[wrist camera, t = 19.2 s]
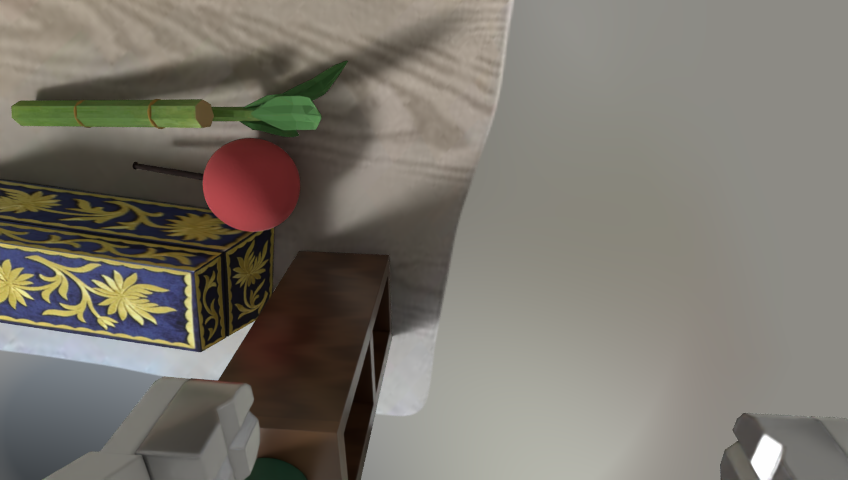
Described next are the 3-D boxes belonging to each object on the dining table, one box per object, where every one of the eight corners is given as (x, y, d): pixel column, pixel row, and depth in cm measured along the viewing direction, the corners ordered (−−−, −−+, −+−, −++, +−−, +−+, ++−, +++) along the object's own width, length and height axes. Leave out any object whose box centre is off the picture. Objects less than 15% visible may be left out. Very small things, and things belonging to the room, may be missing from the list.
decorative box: (-33, 174, 50) (-129, 212, 42) (274, 218, 49) (236, 265, 41) (-3, 269, 55) (-84, 320, 47) (276, 310, 54) (242, 368, 46)
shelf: (389, 254, 50) (336, 433, 31) (392, 337, 55) (347, 538, 35) (298, 250, 51) (190, 423, 31) (308, 332, 56) (220, 527, 36)
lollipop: (86, 155, 40) (266, 182, 38) (145, 106, 46) (306, 127, 43) (124, 228, 45) (284, 255, 43) (173, 176, 51) (318, 199, 49)
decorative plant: (-12, 68, 43) (316, 58, 34) (78, 68, 50) (365, 59, 42) (8, 144, 44) (324, 152, 36) (92, 132, 52) (369, 137, 44)
